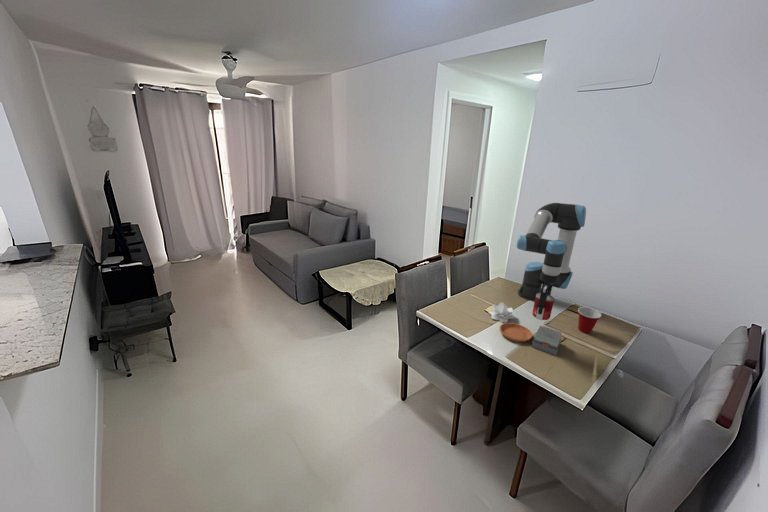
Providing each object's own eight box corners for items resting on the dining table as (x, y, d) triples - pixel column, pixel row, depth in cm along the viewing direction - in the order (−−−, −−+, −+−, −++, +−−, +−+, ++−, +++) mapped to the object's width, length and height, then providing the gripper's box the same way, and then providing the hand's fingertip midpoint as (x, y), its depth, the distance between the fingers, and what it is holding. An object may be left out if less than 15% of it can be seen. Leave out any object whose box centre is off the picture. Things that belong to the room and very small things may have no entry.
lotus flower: (490, 322, 172) (492, 308, 170) (485, 309, 187) (487, 296, 184) (516, 324, 171) (519, 311, 168) (509, 312, 185) (512, 299, 182)
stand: (537, 335, 161) (539, 324, 158) (560, 343, 154) (563, 331, 152) (531, 346, 151) (534, 334, 148) (556, 355, 144) (559, 343, 142)
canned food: (551, 321, 146) (556, 300, 142) (533, 319, 147) (538, 298, 144) (547, 313, 153) (551, 294, 149) (530, 311, 154) (534, 292, 151)
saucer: (537, 343, 154) (539, 338, 153) (509, 345, 152) (510, 340, 151) (519, 326, 169) (520, 321, 168) (493, 328, 167) (494, 323, 166)
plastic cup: (570, 330, 166) (575, 311, 162) (575, 323, 174) (580, 304, 170) (594, 338, 159) (599, 318, 156) (597, 330, 167) (603, 311, 163)
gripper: (546, 265, 153) (537, 306, 160) (536, 277, 137) (527, 321, 145) (563, 269, 148) (553, 310, 155) (554, 281, 133) (544, 326, 140)
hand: (540, 315), depth 150 cm, fingers closed on canned food, 8 cm apart
